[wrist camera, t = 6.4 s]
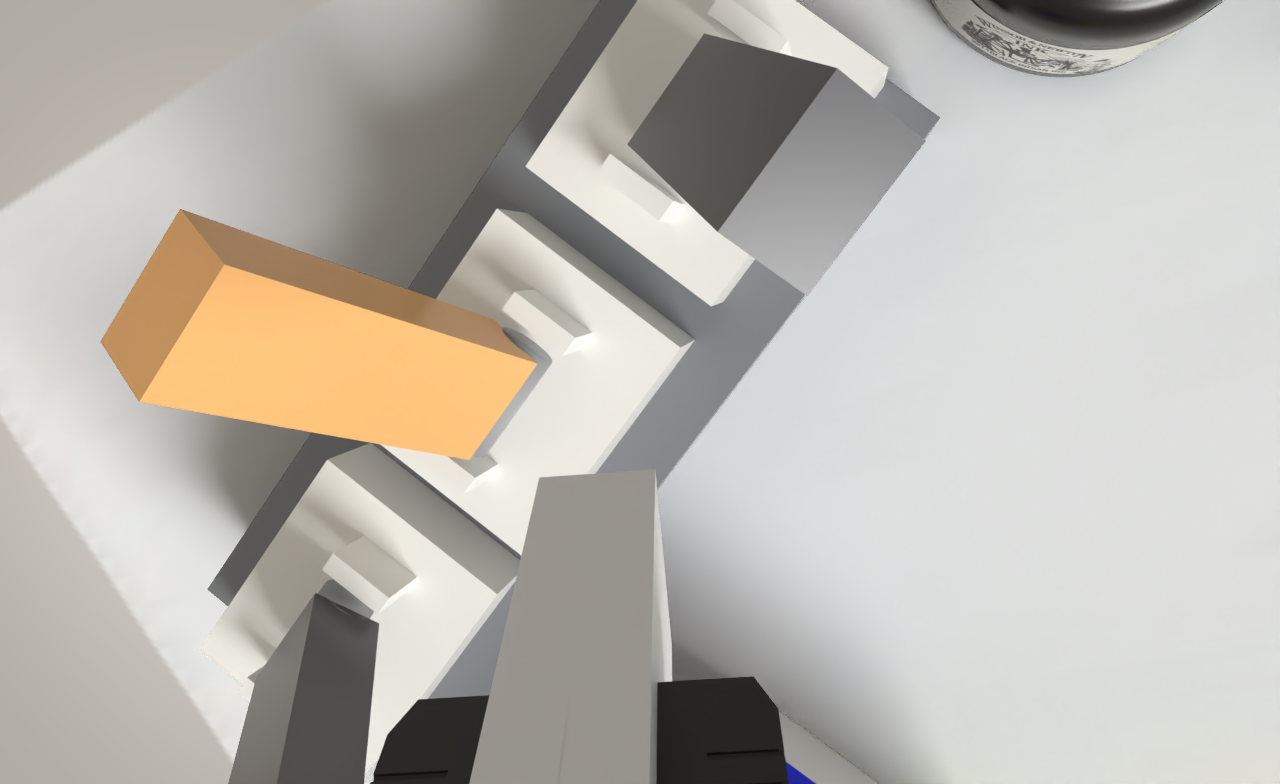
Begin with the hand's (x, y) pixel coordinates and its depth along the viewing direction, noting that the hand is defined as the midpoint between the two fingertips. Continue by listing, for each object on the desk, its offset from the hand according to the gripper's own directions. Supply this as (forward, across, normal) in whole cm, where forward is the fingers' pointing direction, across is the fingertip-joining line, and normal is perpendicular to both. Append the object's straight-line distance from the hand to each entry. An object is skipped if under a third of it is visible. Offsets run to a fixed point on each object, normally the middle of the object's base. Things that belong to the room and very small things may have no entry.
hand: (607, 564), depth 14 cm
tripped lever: (+14, -4, -3) cm, 15 cm away
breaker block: (+22, -3, -6) cm, 23 cm away
